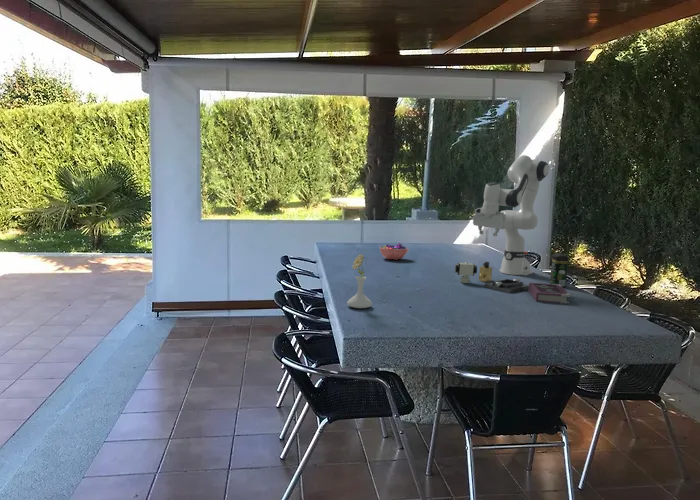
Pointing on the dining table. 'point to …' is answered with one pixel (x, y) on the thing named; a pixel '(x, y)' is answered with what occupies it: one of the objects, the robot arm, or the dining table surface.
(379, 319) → the dining table surface
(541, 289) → the book
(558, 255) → the coffee jar
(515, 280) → the plate
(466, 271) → the pneumatic valve
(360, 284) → the flower in vase
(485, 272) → the brass valve
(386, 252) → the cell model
